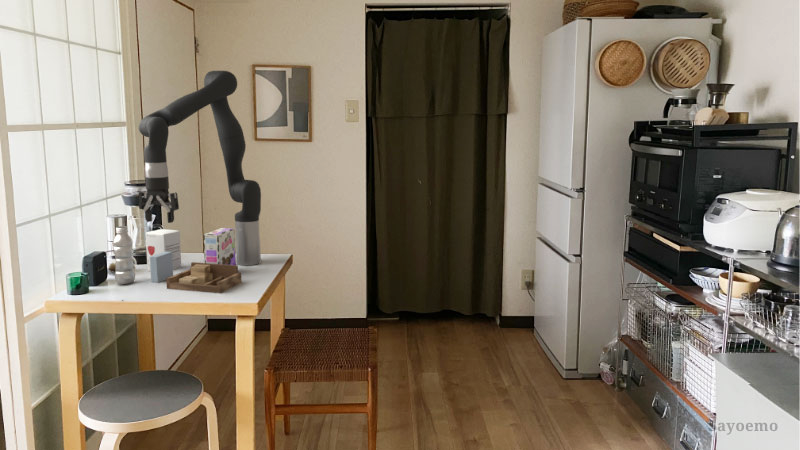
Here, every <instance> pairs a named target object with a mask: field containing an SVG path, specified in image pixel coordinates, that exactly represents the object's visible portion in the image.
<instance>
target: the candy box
mask: <svg viewBox="0 0 800 450" xmlns="http://www.w3.org/2000/svg"><path fill="white" fill-rule="evenodd" d="M203 250H204V251H203V253H204V256H203V257H204V263H211V264H225V265H237V261H236V234H235V228H233V227H231V228H230V227H229V228H228V227H220V228H217V229H216V230H215V229H214V230H212V231H210V232H207V233H203Z"/></svg>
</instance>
